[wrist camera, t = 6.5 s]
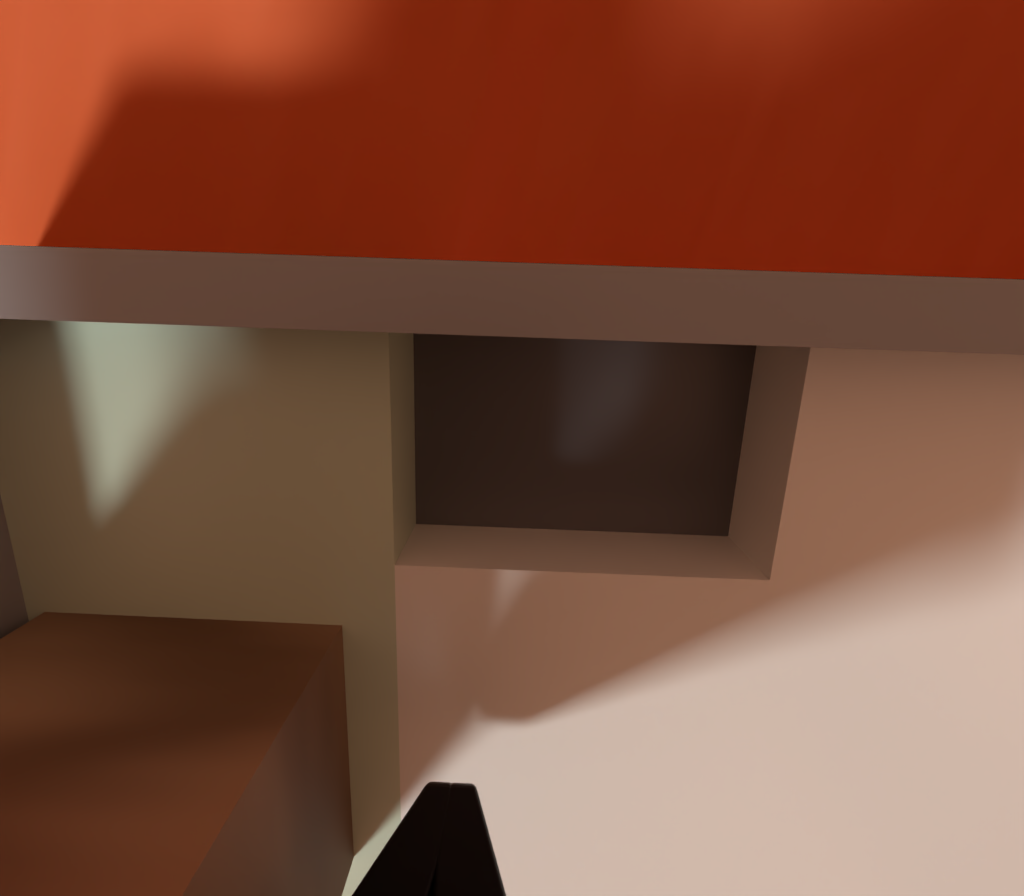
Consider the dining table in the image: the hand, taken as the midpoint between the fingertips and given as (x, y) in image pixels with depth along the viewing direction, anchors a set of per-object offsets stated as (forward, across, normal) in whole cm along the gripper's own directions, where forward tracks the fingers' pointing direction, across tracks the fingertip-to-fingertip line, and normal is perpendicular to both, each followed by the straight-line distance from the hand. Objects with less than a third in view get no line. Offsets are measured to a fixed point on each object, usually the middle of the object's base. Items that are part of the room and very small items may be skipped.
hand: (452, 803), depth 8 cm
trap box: (+3, -2, 0) cm, 4 cm away
